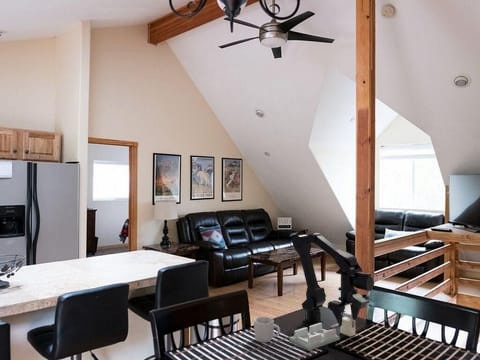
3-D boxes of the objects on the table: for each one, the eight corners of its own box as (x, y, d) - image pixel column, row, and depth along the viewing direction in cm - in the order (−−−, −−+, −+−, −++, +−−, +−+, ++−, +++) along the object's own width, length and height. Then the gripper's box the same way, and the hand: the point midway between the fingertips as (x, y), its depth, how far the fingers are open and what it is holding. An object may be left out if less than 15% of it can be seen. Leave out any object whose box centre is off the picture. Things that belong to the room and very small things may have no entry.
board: (289, 340, 152) (289, 329, 152) (319, 330, 162) (319, 320, 162) (309, 350, 143) (309, 339, 143) (339, 339, 153) (339, 328, 153)
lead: (332, 328, 165) (332, 326, 165) (330, 327, 166) (330, 325, 166) (345, 324, 170) (345, 321, 170) (343, 323, 171) (343, 321, 171)
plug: (340, 332, 160) (340, 318, 160) (345, 330, 162) (345, 316, 162) (351, 337, 156) (351, 322, 156) (356, 335, 158) (356, 320, 158)
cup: (283, 339, 153) (283, 319, 153) (276, 347, 146) (276, 326, 146) (258, 334, 158) (258, 315, 158) (250, 342, 151) (250, 321, 151)
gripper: (349, 294, 147) (348, 335, 147) (378, 286, 158) (378, 324, 158) (326, 287, 156) (326, 326, 156) (355, 281, 167) (355, 316, 167)
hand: (347, 323), depth 159 cm, fingers open, 9 cm apart
